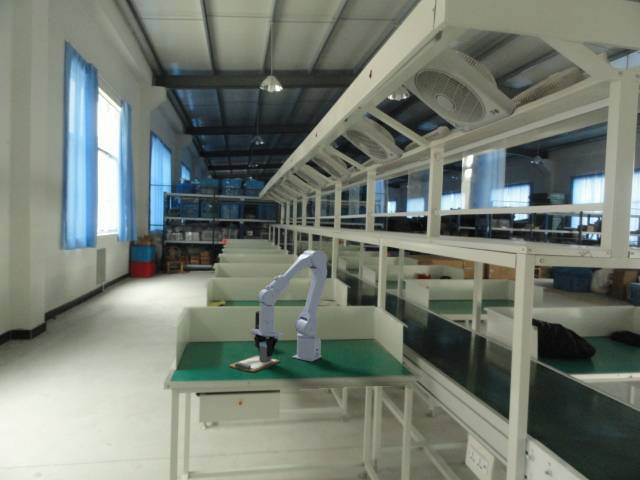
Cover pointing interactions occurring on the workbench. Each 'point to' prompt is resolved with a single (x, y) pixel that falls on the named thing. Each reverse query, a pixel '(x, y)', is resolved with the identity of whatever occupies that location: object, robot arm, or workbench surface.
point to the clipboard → (253, 364)
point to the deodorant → (257, 324)
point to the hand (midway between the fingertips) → (265, 355)
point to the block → (264, 352)
